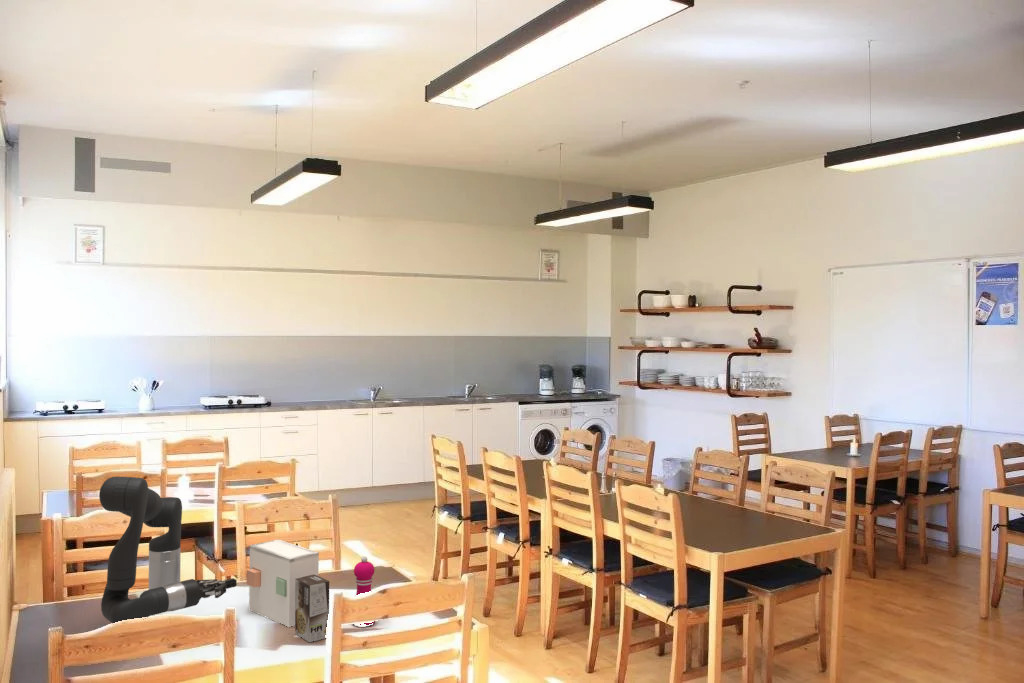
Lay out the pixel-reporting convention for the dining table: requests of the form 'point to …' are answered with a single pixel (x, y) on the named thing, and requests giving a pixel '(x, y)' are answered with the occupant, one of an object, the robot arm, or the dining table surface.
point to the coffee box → (311, 607)
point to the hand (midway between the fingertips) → (235, 582)
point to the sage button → (281, 587)
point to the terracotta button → (254, 577)
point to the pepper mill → (364, 577)
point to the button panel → (283, 564)
